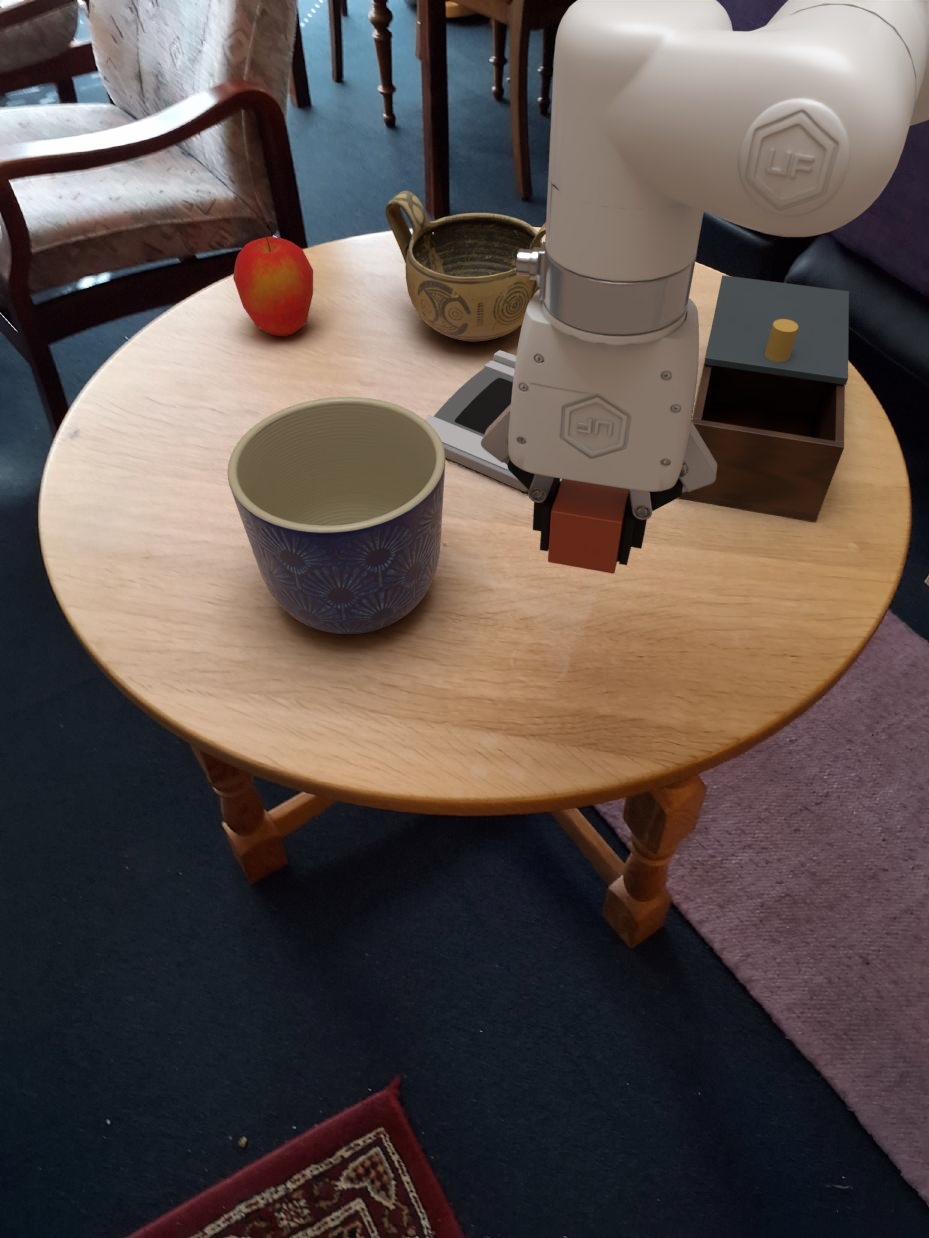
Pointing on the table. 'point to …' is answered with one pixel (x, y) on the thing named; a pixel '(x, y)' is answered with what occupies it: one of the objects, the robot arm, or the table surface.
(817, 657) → the table surface
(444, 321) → the ceramic bowl
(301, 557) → the planter
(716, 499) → the box
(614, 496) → the block
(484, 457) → the alarm clock
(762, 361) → the lid
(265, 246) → the apple
